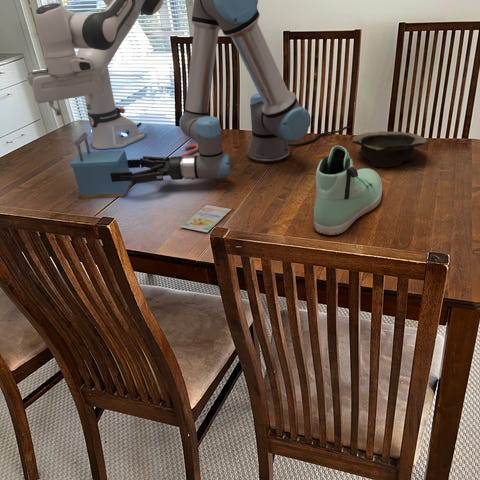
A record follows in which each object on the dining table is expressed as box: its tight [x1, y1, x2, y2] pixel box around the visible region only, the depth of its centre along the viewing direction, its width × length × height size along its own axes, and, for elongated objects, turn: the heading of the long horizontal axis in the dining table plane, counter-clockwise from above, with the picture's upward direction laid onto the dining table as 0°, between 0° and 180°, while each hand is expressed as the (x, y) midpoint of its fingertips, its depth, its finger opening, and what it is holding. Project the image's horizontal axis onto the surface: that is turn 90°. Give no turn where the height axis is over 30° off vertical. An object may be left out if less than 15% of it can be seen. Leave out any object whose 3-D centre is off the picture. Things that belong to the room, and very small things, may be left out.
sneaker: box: [313, 145, 383, 236], centre depth 133 cm, size 14×35×20 cm, turn 152°
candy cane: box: [180, 143, 199, 158], centre depth 185 cm, size 6×15×2 cm, turn 145°
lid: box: [69, 132, 127, 168], centre depth 154 cm, size 15×10×8 cm, turn 87°
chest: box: [72, 154, 133, 199], centre depth 159 cm, size 15×10×11 cm
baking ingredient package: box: [180, 204, 232, 233], centre depth 139 cm, size 9×1×15 cm
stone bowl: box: [351, 131, 429, 168], centre depth 166 cm, size 25×25×9 cm
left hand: (74, 112), depth 148 cm, fingers open, 8 cm apart
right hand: (116, 170), depth 157 cm, fingers closed on chest, 10 cm apart
